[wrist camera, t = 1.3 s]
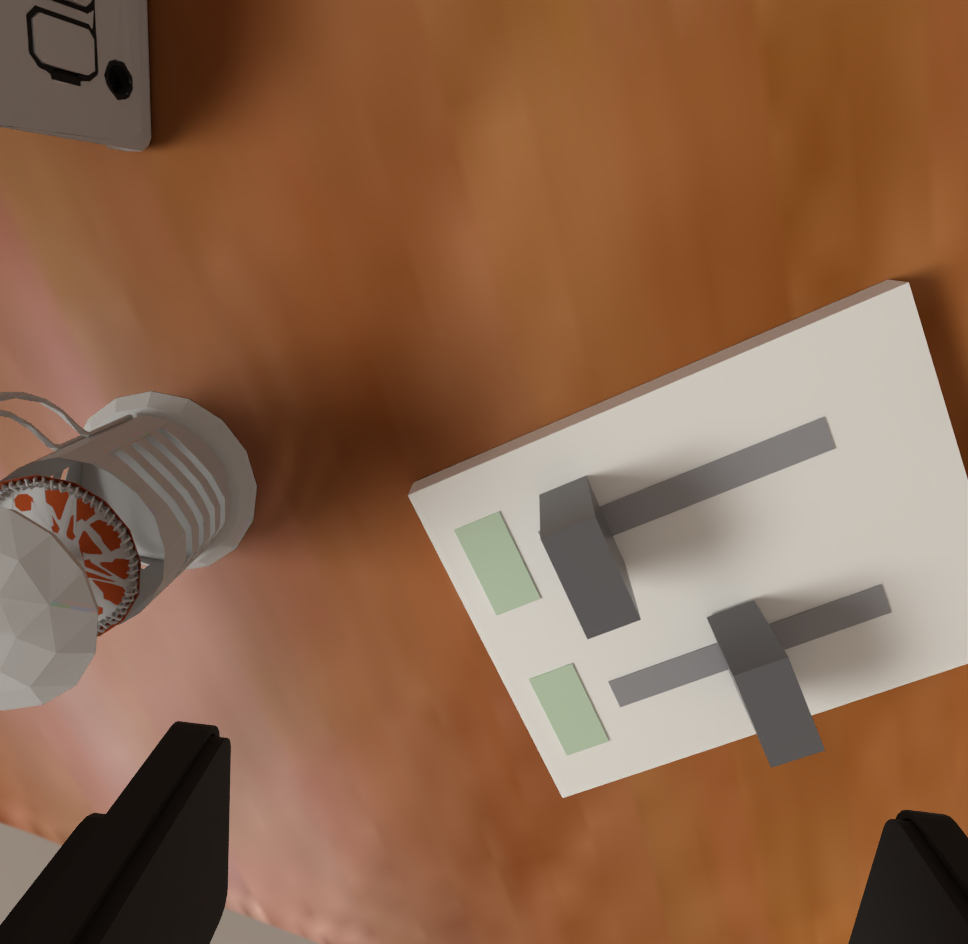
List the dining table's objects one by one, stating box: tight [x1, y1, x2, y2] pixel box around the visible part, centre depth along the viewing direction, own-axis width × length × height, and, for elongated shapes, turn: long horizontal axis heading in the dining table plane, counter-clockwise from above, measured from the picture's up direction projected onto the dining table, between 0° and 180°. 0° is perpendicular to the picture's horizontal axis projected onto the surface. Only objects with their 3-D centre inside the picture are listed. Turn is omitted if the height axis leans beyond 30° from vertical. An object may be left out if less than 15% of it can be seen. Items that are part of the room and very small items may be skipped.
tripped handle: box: [707, 600, 825, 768], centre depth 35 cm, size 2×5×5 cm, turn 25°
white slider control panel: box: [408, 280, 968, 798], centre depth 35 cm, size 24×19×8 cm
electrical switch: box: [0, 0, 151, 151], centre depth 29 cm, size 9×5×9 cm, turn 174°
